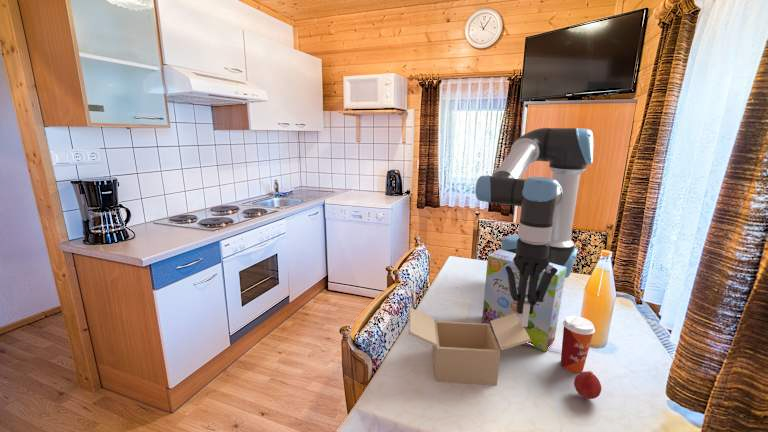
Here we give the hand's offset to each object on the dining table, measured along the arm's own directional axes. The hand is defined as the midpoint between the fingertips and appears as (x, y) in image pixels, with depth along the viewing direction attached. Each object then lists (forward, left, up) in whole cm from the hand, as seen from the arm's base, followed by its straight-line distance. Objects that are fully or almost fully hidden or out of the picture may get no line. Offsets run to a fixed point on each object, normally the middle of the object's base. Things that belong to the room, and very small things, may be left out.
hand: (522, 323), depth 93 cm
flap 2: (+3, 0, -2) cm, 4 cm away
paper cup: (-16, -3, -15) cm, 22 cm away
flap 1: (+26, 0, -2) cm, 27 cm away
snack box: (-5, -18, -15) cm, 24 cm away
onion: (-14, +9, -15) cm, 22 cm away
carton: (+15, 0, -14) cm, 21 cm away
